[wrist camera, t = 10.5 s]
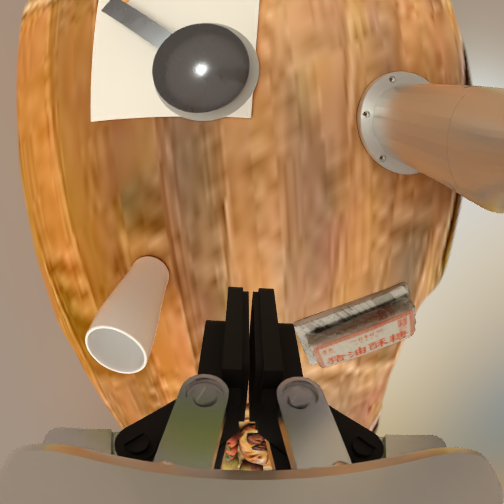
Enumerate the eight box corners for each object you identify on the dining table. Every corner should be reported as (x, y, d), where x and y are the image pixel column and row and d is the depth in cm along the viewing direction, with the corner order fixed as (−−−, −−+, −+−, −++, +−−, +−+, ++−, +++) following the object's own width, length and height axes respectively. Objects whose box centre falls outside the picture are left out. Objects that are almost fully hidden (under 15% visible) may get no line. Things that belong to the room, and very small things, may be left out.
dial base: (266, -27, 23) (267, -33, 21) (255, 122, 31) (255, 123, 30) (107, -16, 22) (101, -20, 20) (96, 124, 31) (90, 125, 29)
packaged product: (418, 296, 37) (420, 343, 42) (404, 278, 42) (408, 323, 46) (295, 342, 40) (313, 382, 45) (291, 320, 45) (309, 360, 49)
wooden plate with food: (355, 407, 57) (363, 439, 49) (296, 466, 70) (298, 490, 63) (204, 385, 52) (199, 422, 45) (181, 451, 66) (177, 477, 59)
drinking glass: (175, 296, 42) (150, 380, 28) (129, 288, 41) (90, 366, 28) (176, 253, 39) (145, 333, 25) (127, 246, 38) (78, 319, 25)
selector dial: (267, 66, 27) (270, 62, 24) (208, 129, 30) (203, 132, 27) (146, -20, 21) (136, -30, 18) (93, 41, 24) (78, 37, 21)
